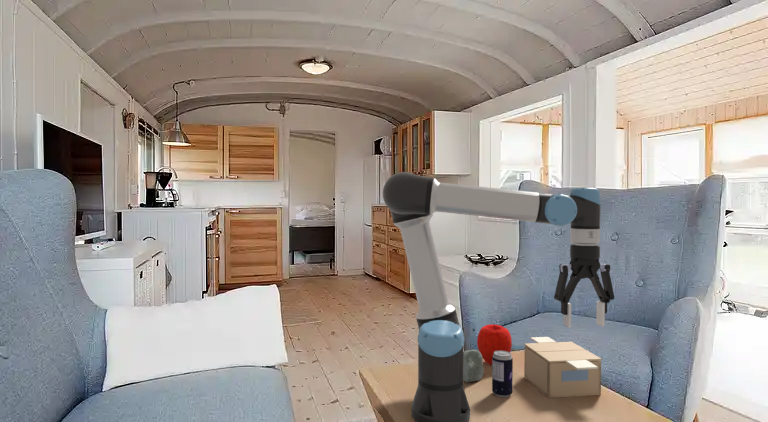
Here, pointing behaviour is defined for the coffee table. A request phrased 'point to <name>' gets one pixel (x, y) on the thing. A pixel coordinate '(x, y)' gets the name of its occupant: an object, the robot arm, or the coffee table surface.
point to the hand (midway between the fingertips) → (583, 325)
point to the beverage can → (502, 373)
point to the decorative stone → (472, 366)
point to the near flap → (571, 358)
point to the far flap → (551, 345)
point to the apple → (493, 341)
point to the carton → (561, 377)
